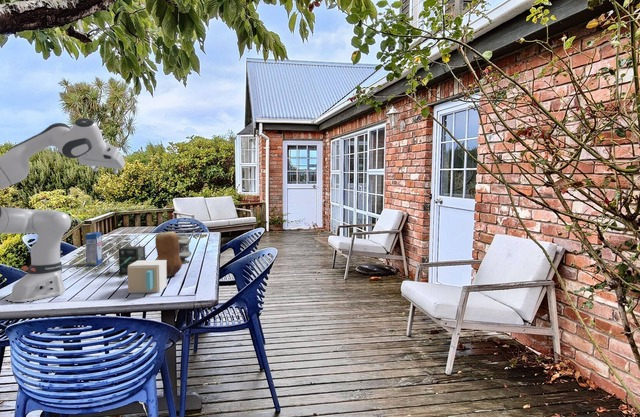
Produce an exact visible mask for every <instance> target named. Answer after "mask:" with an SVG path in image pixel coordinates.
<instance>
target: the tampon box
mask: <svg viewBox="0 0 640 417" xmlns="http://www.w3.org/2000/svg"><path fill="white" fill-rule="evenodd" d="M139 260H146V246H144V245H143V246H142V245H141V246H139V245H137V246H133V245H132V246H124V247H119V248H118V265H119V266H118V267H119V269H118V270H119V274H120V275H121V274H122V275H128V269H127V268H128V265H130V264H132V263H134V262H136V261H139Z"/></svg>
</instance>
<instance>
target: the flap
mask: <svg viewBox="0 0 640 417" xmlns="http://www.w3.org/2000/svg"><path fill="white" fill-rule="evenodd" d="M127 269H128V274H127V289H128V290H127V292H129V291H156V290H158V267H128V268H127Z"/></svg>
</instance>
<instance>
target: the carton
mask: <svg viewBox="0 0 640 417" xmlns="http://www.w3.org/2000/svg"><path fill="white" fill-rule="evenodd" d="M128 267H158V290H156V291H128V293H129V294H138V293H139V294H141V293H144V294H145V293H160V292H162V291H163V290H164V289H165V288H166V287H168V277H167V260H157V259H152V260H151V259H150V260H149V259H148V260H146V259H145V260H139V261H136V262H134V263H132V264H130V265H128Z"/></svg>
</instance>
